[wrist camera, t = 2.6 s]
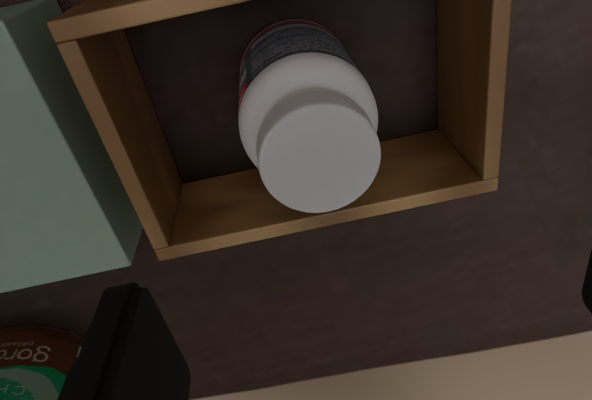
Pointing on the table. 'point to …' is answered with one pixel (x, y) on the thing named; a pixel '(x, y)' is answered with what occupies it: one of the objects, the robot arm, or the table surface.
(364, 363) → the table surface
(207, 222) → the wooden box
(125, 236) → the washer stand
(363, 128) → the pill bottle
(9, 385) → the food container
